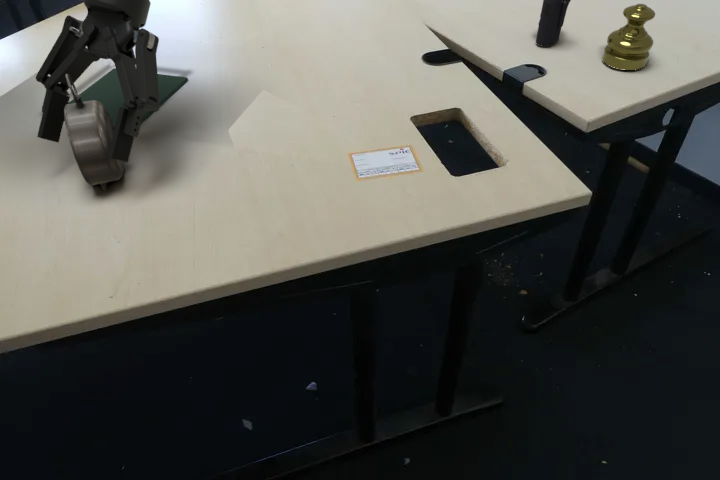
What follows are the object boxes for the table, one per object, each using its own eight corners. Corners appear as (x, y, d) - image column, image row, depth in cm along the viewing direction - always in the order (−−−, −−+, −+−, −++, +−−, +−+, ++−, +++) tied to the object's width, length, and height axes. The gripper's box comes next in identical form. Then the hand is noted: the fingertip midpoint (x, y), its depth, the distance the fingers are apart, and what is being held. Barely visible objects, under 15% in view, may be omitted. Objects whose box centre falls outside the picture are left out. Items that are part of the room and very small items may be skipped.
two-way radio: (546, 35, 104) (564, -48, 94) (567, 42, 102) (587, -43, 91) (531, 45, 102) (547, -40, 91) (552, 52, 99) (571, -34, 89)
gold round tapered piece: (629, 50, 98) (647, -6, 91) (654, 68, 93) (675, 10, 86) (593, 56, 97) (608, 0, 90) (616, 75, 92) (635, 17, 85)
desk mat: (49, 121, 89) (47, 118, 89) (114, 71, 101) (113, 68, 101) (130, 133, 85) (129, 130, 85) (188, 80, 97) (187, 77, 97)
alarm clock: (94, 163, 80) (45, 61, 68) (131, 155, 81) (89, 53, 70) (96, 207, 72) (41, 101, 61) (137, 197, 74) (90, 91, 62)
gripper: (214, 12, 69) (172, 174, 70) (77, -9, 77) (41, 137, 78) (176, -17, 62) (131, 164, 63) (29, -37, 69) (-9, 124, 70)
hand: (81, 149), depth 70 cm, fingers open, 12 cm apart
